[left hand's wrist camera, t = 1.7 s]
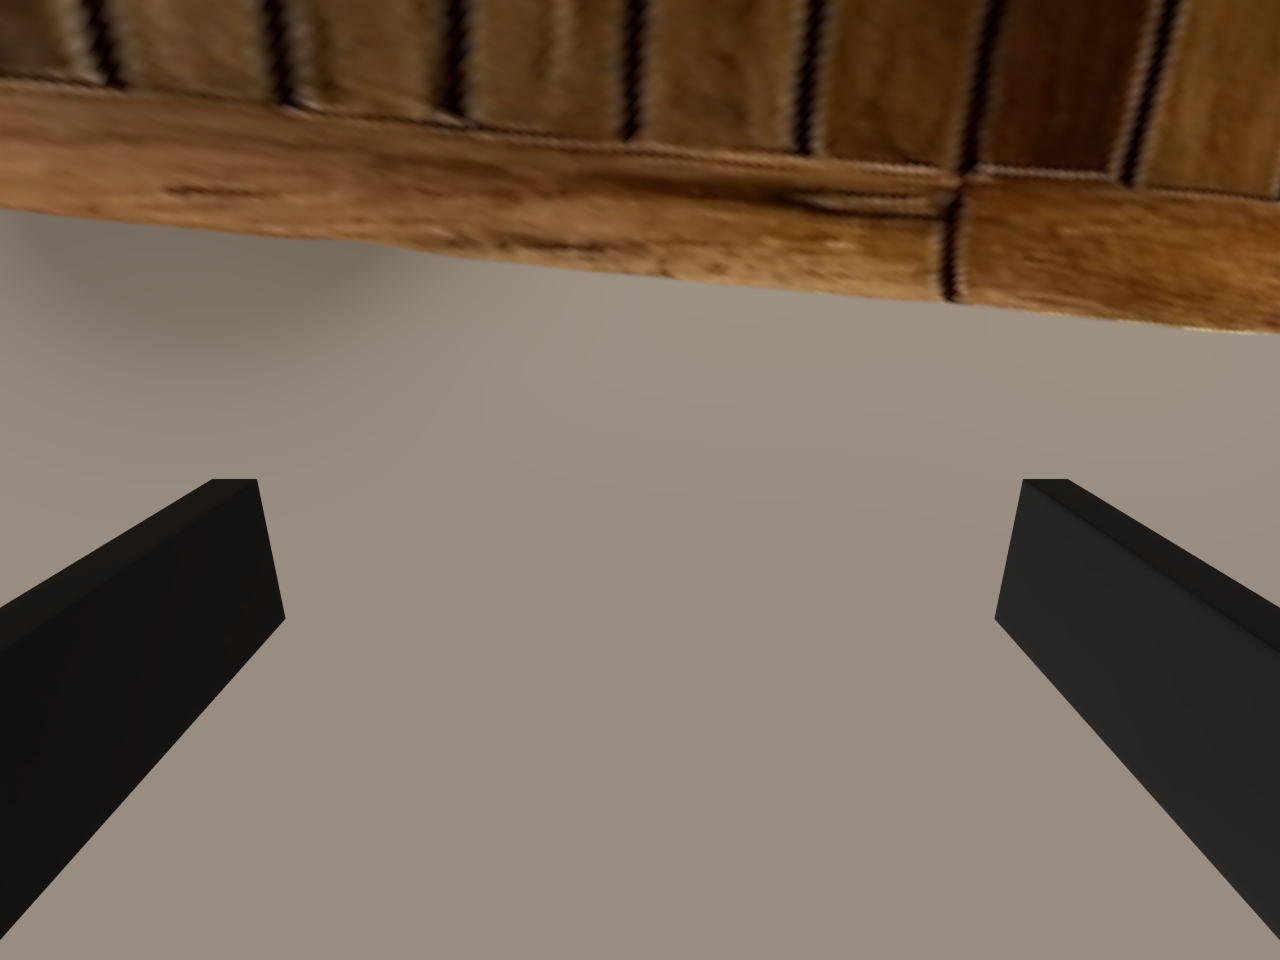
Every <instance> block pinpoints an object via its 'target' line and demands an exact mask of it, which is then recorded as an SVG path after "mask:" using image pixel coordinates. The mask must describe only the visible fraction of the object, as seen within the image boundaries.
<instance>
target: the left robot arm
mask: <svg viewBox="0 0 1280 960" xmlns="http://www.w3.org/2000/svg"><path fill="white" fill-rule="evenodd" d="M284 620H285V614H284V609H283V604H282V599H281V594H280V590H279V585H278V580H277V575H276V570H275V565H274V560H273V555H272V551H271V546H270V541H269V536H268V531H267V526H266V521H265V516H264V511H263V507H262V502H261V497H260V492H259V487H258V482H257V479H212V480H210V481H208V482H207V483H205V484H203V485H202V486H200V487H198V488H197V489H195V490H193V491H192V492H190V493H188V494H187V495H185V496H183V497H182V498H180V499H179V500H177V501H175V502H174V503H172V504H170V505H169V506H167V507H165V508H164V509H162V510H160V511H159V512H157V513H155V514H154V515H152V516H151V517H149V518H147V519H146V520H144V521H142V522H141V523H139V524H137V525H136V526H134V527H132V528H131V529H129V530H128V531H126V532H124V533H123V534H121V535H119V536H118V537H116V538H114V539H113V540H111V541H109V542H108V543H106V544H104V545H103V546H101V547H99V548H98V549H96V550H95V551H93V552H91V553H90V554H88V555H86V556H85V557H83V558H81V559H80V560H78V561H76V562H75V563H73V564H71V565H70V566H68V567H66V568H65V569H63V570H62V571H60V572H58V573H57V574H55V575H53V576H52V577H50V578H48V579H47V580H45V581H43V582H42V583H40V584H38V585H37V586H35V587H34V588H32V589H30V590H29V591H27V592H25V593H24V594H22V595H20V596H19V597H17V598H15V599H14V600H12V601H10V602H9V603H7V604H6V605H4V606H2V607H1V608H0V940H1V938H2V937H3V936H4V935H5V934H6V933H7V932H8V931H9V929H10V928H11V927H12V926H13V925H14V924H15V923H16V921H17V920H18V919H19V918H20V917H21V916H22V915H23V914H24V913H25V911H26V910H27V909H28V908H29V907H30V906H31V905H32V903H33V902H34V901H35V900H36V899H37V898H38V897H39V896H40V894H41V893H42V892H43V891H44V890H45V889H46V888H47V887H48V886H49V884H50V883H51V882H52V881H53V880H54V879H55V878H56V876H57V875H58V874H59V873H60V872H61V871H62V870H63V869H64V868H65V866H66V865H67V864H68V863H69V862H70V861H71V860H72V858H73V857H74V856H75V855H76V854H77V853H78V852H79V851H80V849H81V848H82V847H83V846H84V845H85V844H86V843H87V842H88V840H89V839H90V838H91V837H92V836H93V835H94V834H95V833H96V831H97V830H98V829H99V828H100V827H101V826H102V825H103V824H104V822H105V821H106V820H107V819H108V818H109V817H110V816H111V814H112V813H113V812H114V811H115V810H116V809H117V808H118V807H119V806H120V804H121V803H122V802H123V801H124V800H125V799H126V798H127V797H128V795H129V794H130V793H131V792H132V791H133V790H134V789H135V788H136V786H137V785H138V784H139V783H140V782H141V781H142V780H143V779H144V777H145V776H146V775H147V774H148V773H149V772H150V771H151V770H152V768H153V767H154V766H155V765H156V764H157V763H158V762H159V761H160V759H161V758H162V757H163V756H164V755H165V754H166V753H167V752H168V750H169V749H170V748H171V747H172V746H173V745H174V744H175V743H176V741H177V740H178V739H179V738H180V737H181V736H182V735H183V734H184V732H185V731H186V730H187V729H188V728H189V727H190V726H191V724H192V723H193V722H194V721H195V720H196V719H197V718H198V717H199V715H200V714H201V713H202V712H203V711H204V710H205V709H206V708H207V706H208V705H209V704H210V703H211V702H212V701H213V700H214V699H215V697H216V696H217V695H218V694H219V693H220V692H221V691H222V690H223V688H224V687H225V686H226V685H227V684H228V683H229V682H230V681H231V679H232V678H233V677H234V676H235V675H236V674H237V673H238V672H239V670H240V669H241V668H242V667H243V666H244V665H245V664H246V663H247V661H248V660H249V659H250V658H251V657H252V656H253V655H254V654H255V652H256V651H257V650H258V649H259V648H260V647H261V646H262V645H263V643H264V642H265V641H266V640H267V639H268V638H269V637H270V636H271V634H272V633H273V632H274V631H275V630H276V629H277V628H278V627H279V625H280V624H281V623H282V622H283V621H284ZM995 620H996V621H997V622H998V623H999V624H1000V625H1001V627H1002V628H1003V629H1004V630H1005V631H1006V632H1007V633H1008V634H1009V636H1010V637H1011V638H1012V639H1013V640H1014V641H1015V642H1016V643H1017V645H1018V646H1019V647H1020V648H1021V649H1022V650H1023V651H1024V652H1025V654H1026V655H1027V656H1028V657H1029V658H1030V659H1031V660H1032V661H1033V663H1034V664H1035V665H1036V666H1037V667H1038V668H1039V669H1040V670H1041V672H1042V673H1043V674H1044V675H1045V676H1046V677H1047V678H1048V679H1049V681H1050V682H1051V683H1052V684H1053V685H1054V686H1055V687H1056V688H1057V690H1058V691H1059V692H1060V693H1061V694H1062V695H1063V696H1064V697H1065V699H1066V700H1067V701H1068V702H1069V703H1070V704H1071V705H1072V706H1073V708H1074V709H1075V710H1076V711H1077V712H1078V713H1079V714H1080V716H1081V717H1082V718H1083V719H1084V720H1085V721H1086V722H1087V723H1088V725H1089V726H1090V727H1091V728H1092V729H1093V730H1094V731H1095V732H1096V734H1097V735H1098V736H1099V737H1100V738H1101V739H1102V740H1103V741H1104V742H1105V744H1106V745H1107V746H1108V747H1109V748H1110V749H1111V750H1112V752H1113V753H1114V754H1115V755H1116V756H1117V757H1118V758H1119V759H1120V760H1121V762H1122V763H1123V764H1124V765H1125V766H1126V767H1127V768H1128V770H1129V771H1130V772H1131V773H1132V774H1133V775H1134V776H1135V777H1136V779H1137V780H1138V781H1139V782H1140V783H1141V784H1142V785H1143V786H1144V787H1145V789H1146V790H1147V791H1148V792H1149V793H1150V794H1151V795H1152V797H1153V798H1154V799H1155V800H1156V801H1157V802H1158V803H1159V804H1160V806H1161V807H1162V808H1163V809H1164V810H1165V811H1166V812H1167V813H1168V815H1169V816H1170V817H1171V818H1172V819H1173V820H1174V821H1175V822H1176V824H1177V825H1178V826H1179V827H1180V828H1181V829H1182V830H1183V831H1184V833H1185V834H1186V835H1187V836H1188V837H1189V838H1190V839H1191V840H1192V842H1193V843H1194V844H1195V845H1196V846H1197V847H1198V848H1199V849H1200V851H1201V852H1202V853H1203V854H1204V855H1205V856H1206V857H1207V859H1208V860H1209V861H1210V862H1211V863H1212V864H1213V865H1214V866H1215V867H1216V869H1217V870H1218V871H1219V872H1220V873H1221V874H1222V875H1223V876H1224V878H1225V879H1226V880H1227V881H1228V882H1229V883H1230V884H1231V886H1232V887H1233V888H1234V889H1235V890H1236V891H1237V892H1238V893H1239V895H1240V896H1241V897H1242V898H1243V899H1244V900H1245V901H1246V902H1247V904H1248V905H1249V906H1250V907H1251V908H1252V909H1253V910H1254V911H1255V913H1256V914H1257V915H1258V916H1259V917H1260V918H1261V919H1262V920H1263V922H1264V923H1265V924H1266V925H1267V926H1268V927H1269V928H1270V929H1271V931H1272V932H1273V933H1274V934H1275V935H1276V936H1277V937H1278V938H1279V940H1280V608H1279V607H1278V606H1276V605H1274V604H1273V603H1271V602H1270V601H1268V600H1266V599H1265V598H1263V597H1261V596H1260V595H1258V594H1256V593H1255V592H1253V591H1251V590H1250V589H1248V588H1246V587H1245V586H1243V585H1242V584H1240V583H1238V582H1237V581H1235V580H1233V579H1232V578H1230V577H1228V576H1227V575H1225V574H1223V573H1222V572H1220V571H1218V570H1217V569H1215V568H1214V567H1212V566H1210V565H1209V564H1207V563H1205V562H1204V561H1202V560H1200V559H1199V558H1197V557H1195V556H1194V555H1192V554H1190V553H1189V552H1187V551H1185V550H1184V549H1182V548H1181V547H1179V546H1177V545H1176V544H1174V543H1172V542H1171V541H1169V540H1167V539H1166V538H1164V537H1162V536H1161V535H1159V534H1157V533H1156V532H1154V531H1153V530H1151V529H1149V528H1148V527H1146V526H1144V525H1143V524H1141V523H1139V522H1138V521H1136V520H1134V519H1133V518H1131V517H1129V516H1128V515H1126V514H1125V513H1123V512H1121V511H1120V510H1118V509H1116V508H1115V507H1113V506H1111V505H1110V504H1108V503H1106V502H1105V501H1103V500H1101V499H1100V498H1098V497H1097V496H1095V495H1093V494H1092V493H1090V492H1088V491H1087V490H1085V489H1083V488H1082V487H1080V486H1078V485H1077V484H1075V483H1073V482H1072V481H1070V480H1068V479H1023V482H1022V487H1021V492H1020V497H1019V502H1018V507H1017V511H1016V516H1015V521H1014V526H1013V531H1012V536H1011V541H1010V546H1009V550H1008V555H1007V560H1006V565H1005V570H1004V575H1003V580H1002V585H1001V590H1000V594H999V599H998V605H997V609H996V614H995Z"/></svg>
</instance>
